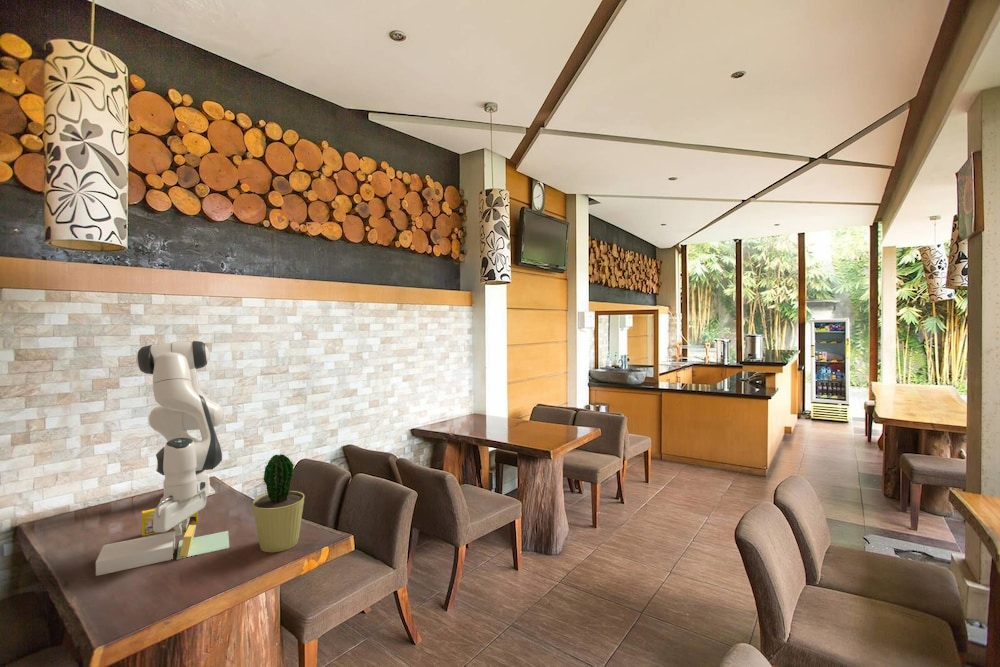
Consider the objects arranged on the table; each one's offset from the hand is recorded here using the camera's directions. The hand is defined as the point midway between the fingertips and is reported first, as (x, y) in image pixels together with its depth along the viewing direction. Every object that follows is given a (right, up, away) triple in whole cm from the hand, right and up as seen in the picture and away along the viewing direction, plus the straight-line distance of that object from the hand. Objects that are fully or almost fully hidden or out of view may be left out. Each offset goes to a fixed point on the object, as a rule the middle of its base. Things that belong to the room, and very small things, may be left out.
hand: (181, 533), depth 150 cm
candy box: (-14, -5, +15) cm, 21 cm away
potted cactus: (+29, -5, +4) cm, 30 cm away
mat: (+5, -5, +3) cm, 8 cm away
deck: (-9, -5, -6) cm, 12 cm away
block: (+2, -2, -1) cm, 3 cm away
